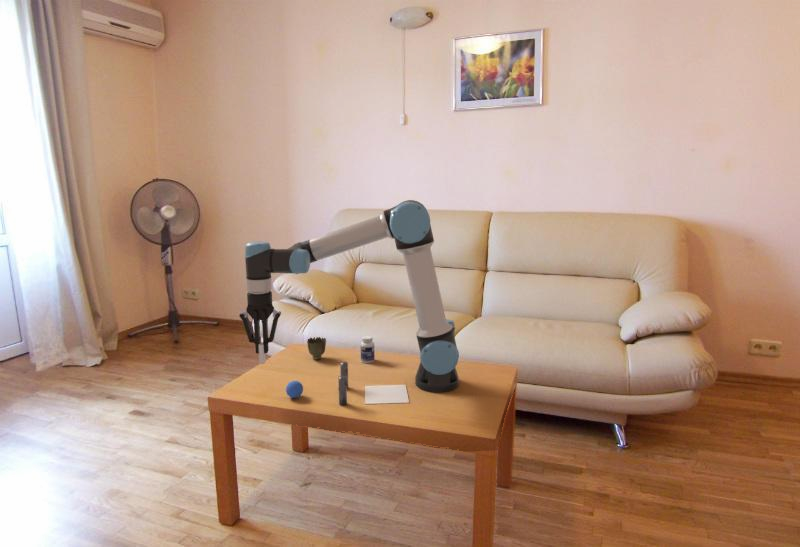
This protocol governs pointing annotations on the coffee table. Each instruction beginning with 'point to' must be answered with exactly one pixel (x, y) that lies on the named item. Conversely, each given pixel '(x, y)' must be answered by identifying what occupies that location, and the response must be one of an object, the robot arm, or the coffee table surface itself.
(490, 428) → the coffee table surface
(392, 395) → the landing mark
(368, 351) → the pill bottle
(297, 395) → the ball
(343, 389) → the post
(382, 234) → the robot arm
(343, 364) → the post
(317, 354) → the cup
